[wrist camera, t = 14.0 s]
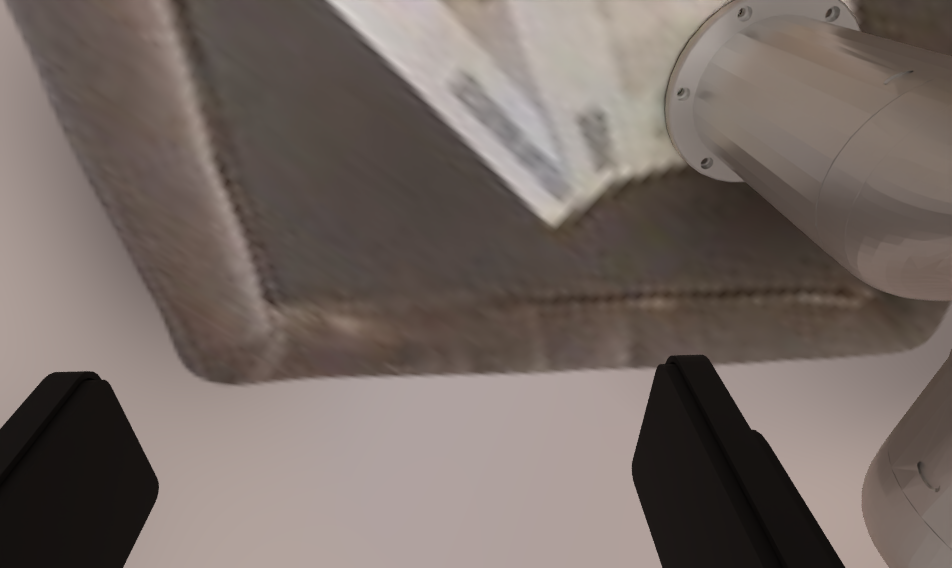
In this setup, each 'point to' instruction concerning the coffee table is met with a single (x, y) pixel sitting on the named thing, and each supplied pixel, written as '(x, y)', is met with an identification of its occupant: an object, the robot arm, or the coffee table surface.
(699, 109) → the robot arm
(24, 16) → the coffee table surface
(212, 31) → the coffee table surface
